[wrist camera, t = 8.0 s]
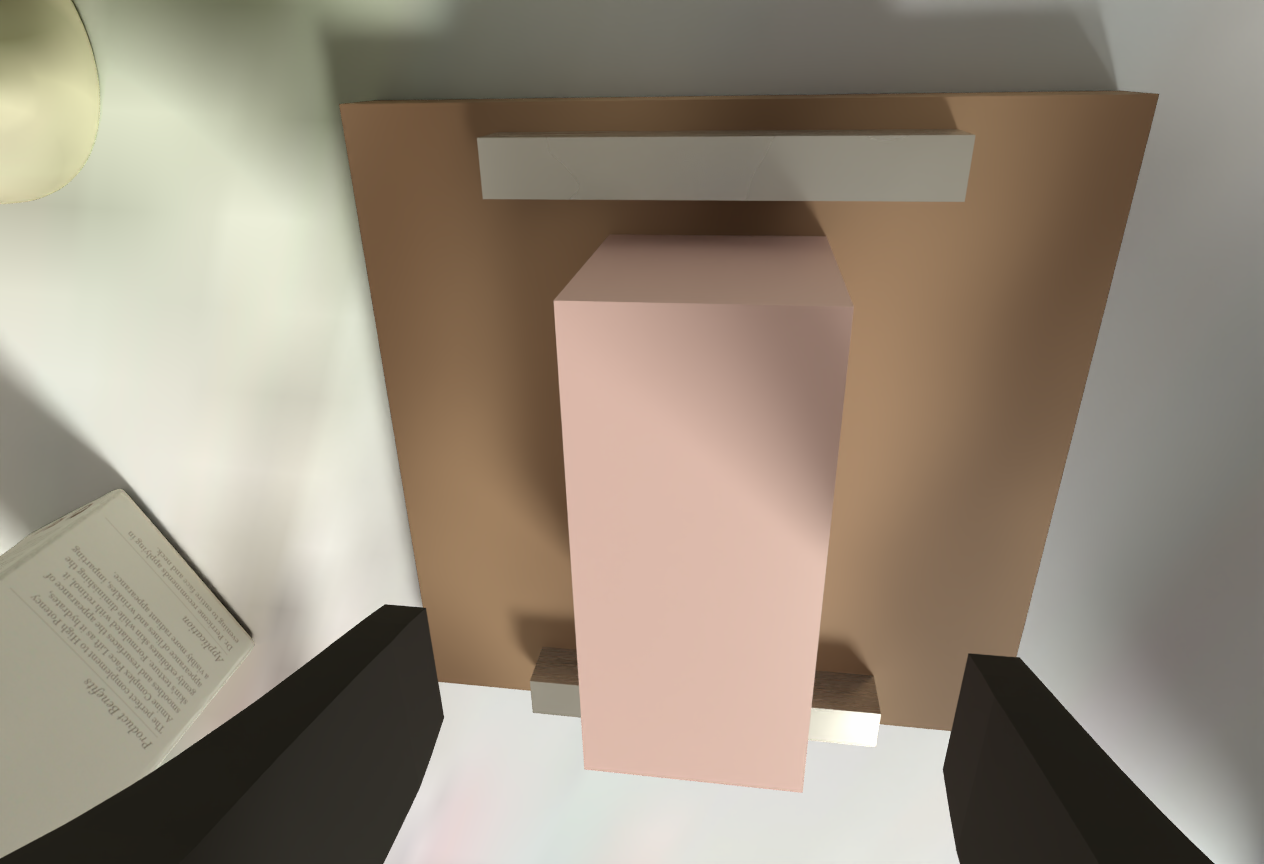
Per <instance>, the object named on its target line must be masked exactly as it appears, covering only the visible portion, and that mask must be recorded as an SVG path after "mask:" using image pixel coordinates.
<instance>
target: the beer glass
mask: <svg viewBox="0 0 1264 864" xmlns="http://www.w3.org/2000/svg"><path fill="white" fill-rule="evenodd" d="M99 118H100V89H99V80H98V74H97V69H96V64H95V59H94V56H93V52H92V49H91V45H90V42H89V39H88V36H87V34H86V31H85V29H84V26H83V24H82V21H81V19H80V17H79V15H78V13H77V10H76V8H75V7H74V5H73V3H72V1H71V0H0V204H13V203H22V202H28V201H33V200H37V199H40V198H43V197H45V196H48V195H50V194H52V193H54V192H56V191H58V190H60V189H61V188H63V187H64V186H66V185H67V184H68V183H69V182H71V181H72V180H73V179H74V178H75V177H76V176H77V174H78V173H79V172H80V171H81V169H82V168H83V166H84V165H85V163H86V162H87V160H88V158H89V156H90V154H91V151H92V149H93V146H94V143H95V140H96V136H97V132H98V126H99Z"/></svg>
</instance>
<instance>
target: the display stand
mask: <svg viewBox="0 0 1264 864" xmlns="http://www.w3.org/2000/svg"><path fill="white" fill-rule="evenodd" d="M1158 97H1159V94H1153V93H1141V92H1129V91H1059V92H982V93H905V94H828V95H750V96H673V97H596V98H519V99H442V100H374V101H364V102H355V103H345V104H339V106H340V112H341V118H342V124H343V130H344V136H345V142H346V148H347V154H348V160H349V166H350V172H351V178H352V184H353V190H354V196H355V202H356V208H357V214H358V220H359V226H360V232H361V238H362V244H363V250H364V256H365V262H366V268H367V274H368V280H369V286H370V292H371V298H372V304H373V310H374V316H375V322H376V328H377V334H378V340H379V346H380V352H381V358H382V364H383V370H384V376H385V382H386V388H387V394H388V400H389V406H390V412H391V418H392V424H393V430H394V436H395V442H396V448H397V454H398V460H399V466H400V472H401V478H402V484H403V490H404V496H405V502H406V508H407V514H408V520H409V526H410V532H411V538H412V544H413V550H414V556H415V562H416V568H417V574H418V580H419V586H420V592H421V598H422V604H423V608H426V611H427V617H428V623H429V629H430V635H431V641H432V648H433V654H434V660H435V666H436V672H437V678H438V682H447V683H457V684H467V685H478V686H488V687H499V688H509V689H519V690H530V691H531V698H532V708H533V713H541V714H551V715H561V716H571V717H581V708H580V693H579V678H578V663H577V648H576V633H575V618H574V603H573V587H572V572H571V557H570V542H569V527H568V512H567V497H566V482H565V467H564V451H563V436H562V421H561V406H560V391H559V376H558V361H557V346H556V331H555V316H554V299H555V298H556V297H557V296H558V295H559V294H560V292H561V291H562V290H563V289H564V288H565V286H566V285H567V284H568V283H569V282H570V281H571V279H572V278H573V277H574V276H575V275H576V274H577V272H578V271H579V270H580V269H581V268H582V266H583V265H584V264H585V263H586V262H587V261H588V259H589V258H590V257H591V256H592V255H593V253H594V252H595V251H596V250H597V249H598V248H599V246H600V245H601V244H602V243H603V242H604V241H605V239H606V238H607V237H608V236H609V235H728V236H826V237H827V239H828V242H829V244H830V247H831V249H832V252H833V255H834V257H835V260H836V262H837V265H838V267H839V270H840V273H841V275H842V278H843V280H844V283H845V285H846V288H847V291H848V293H849V296H850V298H851V301H852V303H853V306H854V310H853V319H852V329H851V338H850V348H849V357H848V367H847V376H846V385H845V395H844V404H843V414H842V423H841V433H840V442H839V452H838V461H837V470H836V480H835V489H834V499H833V508H832V518H831V527H830V537H829V546H828V556H827V565H826V574H825V584H824V593H823V603H822V612H821V622H820V631H819V641H818V650H817V659H816V669H815V678H814V688H813V697H812V707H811V716H810V726H809V735H808V740H811V741H821V742H831V743H841V744H851V745H861V746H871V747H876V741H877V735H878V729H879V724H884V725H894V726H904V727H915V728H925V729H936V730H946V731H951V730H952V726H953V721H954V716H955V712H956V707H957V703H958V698H959V694H960V689H961V684H962V680H963V675H964V671H965V666H966V661H967V657H968V653H972V654H984V655H995V656H1007V657H1016V656H1017V652H1018V648H1019V644H1020V640H1021V636H1022V632H1023V629H1024V625H1025V621H1026V617H1027V613H1028V609H1029V605H1030V601H1031V597H1032V593H1033V589H1034V585H1035V581H1036V577H1037V573H1038V569H1039V566H1040V562H1041V558H1042V554H1043V550H1044V546H1045V542H1046V538H1047V534H1048V530H1049V526H1050V522H1051V518H1052V514H1053V510H1054V506H1055V503H1056V499H1057V495H1058V491H1059V487H1060V483H1061V479H1062V475H1063V471H1064V467H1065V463H1066V459H1067V455H1068V451H1069V447H1070V443H1071V440H1072V436H1073V432H1074V428H1075V424H1076V420H1077V416H1078V412H1079V408H1080V404H1081V400H1082V396H1083V392H1084V388H1085V384H1086V380H1087V377H1088V373H1089V369H1090V365H1091V361H1092V357H1093V353H1094V349H1095V345H1096V341H1097V337H1098V333H1099V329H1100V325H1101V321H1102V317H1103V314H1104V310H1105V306H1106V302H1107V298H1108V294H1109V290H1110V286H1111V282H1112V278H1113V274H1114V270H1115V266H1116V262H1117V258H1118V254H1119V251H1120V247H1121V243H1122V239H1123V235H1124V231H1125V227H1126V223H1127V219H1128V215H1129V211H1130V207H1131V203H1132V199H1133V195H1134V191H1135V188H1136V184H1137V180H1138V176H1139V172H1140V168H1141V164H1142V160H1143V156H1144V152H1145V148H1146V144H1147V140H1148V136H1149V132H1150V128H1151V124H1152V121H1153V117H1154V113H1155V109H1156V105H1157V101H1158Z"/></svg>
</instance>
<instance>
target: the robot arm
mask: <svg viewBox="0 0 1264 864" xmlns="http://www.w3.org/2000/svg"><path fill="white" fill-rule="evenodd" d="M443 719H444V715H443V709H442V702H441V696H440V690H439V684H438V678H437V672H436V666H435V660H434V654H433V648H432V641H431V635H430V629H429V623H428V617H427V611H426V608H421V607H409V606H397V605H384V606H382V607H381V608H379V609H378V610H376V611H375V612H374V613H372V614H371V615H369V616H368V617H367V618H365V619H364V620H363V621H361V622H360V623H359V624H357V625H356V626H355V627H353V628H352V629H351V630H349V631H348V632H347V633H346V634H344V635H343V636H342V637H340V638H339V639H338V640H336V641H335V642H334V643H332V644H331V645H330V646H329V647H327V648H326V649H325V650H323V651H322V652H321V653H319V654H318V655H317V656H316V657H314V658H313V659H312V660H310V661H309V662H308V663H306V664H305V665H304V666H302V667H301V668H300V669H298V670H297V671H296V672H294V673H293V674H292V675H290V676H289V677H288V678H286V679H285V680H284V681H282V682H281V683H280V684H278V685H277V686H276V687H274V688H273V689H272V690H270V691H269V692H268V693H266V694H265V695H264V696H262V697H261V698H260V699H258V700H257V701H255V702H254V703H253V704H251V705H250V706H248V707H247V708H246V709H244V710H243V711H241V712H240V713H238V714H237V715H235V716H234V717H233V718H231V719H230V720H228V721H227V722H225V723H224V724H222V725H221V726H219V727H218V728H217V729H215V730H214V731H212V732H211V733H209V734H208V735H206V736H205V737H204V738H202V739H201V740H199V741H198V742H196V743H195V744H193V745H192V746H191V747H189V748H188V749H186V750H185V751H183V752H182V753H180V754H179V755H178V756H176V757H174V758H173V759H171V760H170V761H168V762H167V763H165V764H164V765H162V766H161V767H159V768H158V769H156V770H154V771H153V772H151V773H150V774H148V775H146V776H145V777H143V778H142V779H140V780H138V781H137V782H135V783H134V784H132V785H130V786H129V787H127V788H125V789H124V790H122V791H120V792H119V793H117V794H115V795H114V796H112V797H110V798H109V799H107V800H105V801H103V802H102V803H100V804H98V805H97V806H95V807H93V808H92V809H90V810H88V811H87V812H85V813H83V814H82V815H80V816H78V817H76V818H75V819H73V820H71V821H69V822H67V823H66V824H64V825H62V826H60V827H58V828H57V829H55V830H53V831H51V832H49V833H47V834H45V835H43V836H42V837H40V838H38V839H36V840H34V841H32V842H30V843H28V844H26V845H25V846H23V847H21V848H19V849H17V850H15V851H13V852H11V853H9V854H8V855H6V856H4V857H2V858H0V864H383V863H384V861H385V859H386V857H387V855H388V853H389V851H390V849H391V847H392V845H393V843H394V841H395V839H396V837H397V835H398V833H399V830H400V828H401V826H402V824H403V822H404V820H405V818H406V816H407V814H408V812H409V810H410V808H411V806H412V803H413V801H414V799H415V797H416V795H417V793H418V791H419V788H420V786H421V783H422V780H423V778H424V775H425V772H426V769H427V766H428V764H429V761H430V758H431V755H432V752H433V749H434V746H435V743H436V740H437V737H438V734H439V731H440V728H441V725H442V722H443ZM943 773H944V780H945V786H946V792H947V799H948V805H949V811H950V817H951V823H952V828H953V834H954V839H955V845H956V851H957V854H958V858H959V862H960V864H1214V863H1213V862H1212V861H1211V860H1210V859H1209V858H1208V857H1207V856H1206V855H1205V854H1204V853H1203V852H1202V851H1201V850H1200V849H1199V848H1198V847H1196V846H1195V845H1194V844H1193V843H1192V842H1191V841H1190V840H1189V839H1188V838H1187V837H1186V836H1185V835H1184V834H1183V833H1182V832H1181V831H1180V830H1179V829H1178V828H1177V827H1176V826H1175V825H1174V824H1173V823H1172V822H1171V821H1170V820H1169V819H1168V818H1167V817H1166V816H1165V815H1164V814H1163V813H1162V812H1161V811H1160V810H1159V809H1158V808H1157V807H1156V806H1155V804H1154V803H1153V802H1152V801H1151V800H1150V799H1149V798H1148V797H1147V796H1146V795H1145V794H1144V793H1143V792H1142V791H1141V790H1140V789H1139V788H1138V787H1137V786H1136V785H1135V784H1134V783H1133V781H1132V780H1131V779H1130V778H1129V777H1128V776H1127V775H1126V774H1125V773H1124V772H1123V771H1122V770H1121V769H1120V768H1119V767H1118V766H1117V765H1116V764H1115V762H1114V761H1113V760H1112V759H1111V758H1110V757H1109V756H1108V755H1107V754H1106V753H1105V752H1104V751H1103V749H1102V748H1101V747H1100V746H1099V745H1098V744H1097V743H1096V742H1095V741H1094V740H1093V738H1092V737H1091V736H1090V735H1089V734H1088V733H1087V732H1086V731H1085V730H1084V729H1083V727H1082V726H1081V725H1080V724H1079V723H1078V722H1077V721H1076V720H1075V719H1074V717H1073V716H1072V715H1071V714H1070V713H1069V712H1068V711H1067V710H1066V709H1065V707H1064V706H1063V705H1062V704H1061V703H1060V702H1059V701H1058V700H1057V699H1056V697H1055V696H1054V695H1053V694H1052V693H1051V692H1050V691H1049V690H1048V688H1047V687H1046V686H1045V685H1044V684H1043V683H1042V682H1041V681H1040V680H1039V678H1038V677H1037V676H1036V675H1035V674H1034V673H1033V672H1032V671H1031V670H1030V668H1029V667H1028V666H1027V665H1026V664H1025V663H1024V662H1023V661H1022V660H1021V659H1020V658H1019V657H1007V656H995V655H984V654H972V653H968V657H967V661H966V666H965V671H964V675H963V680H962V684H961V689H960V694H959V698H958V703H957V707H956V712H955V716H954V721H953V726H952V730H951V735H950V739H949V744H948V748H947V753H946V758H945V762H944V767H943Z"/></svg>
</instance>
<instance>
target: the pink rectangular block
mask: <svg viewBox="0 0 1264 864" xmlns="http://www.w3.org/2000/svg"><path fill="white" fill-rule="evenodd" d="M853 310H854V306H853V303H852V301H851V298H850V296H849V293H848V291H847V288H846V285H845V283H844V280H843V278H842V275H841V273H840V270H839V267H838V265H837V262H836V260H835V257H834V255H833V252H832V249H831V247H830V244H829V242H828V239H827V237H826V236H728V235H609V236H608V237H607V238H606V239H605V241H604V242H603V243H602V244H601V245H600V246H599V248H598V249H597V250H596V251H595V252H594V253H593V255H592V256H591V257H590V258H589V259H588V261H587V262H586V263H585V264H584V265H583V266H582V268H581V269H580V270H579V271H578V272H577V274H576V275H575V276H574V277H573V278H572V279H571V281H570V282H569V283H568V284H567V285H566V286H565V288H564V289H563V290H562V291H561V292H560V294H559V295H558V296H557V297H556V298H555V299H554V316H555V331H556V346H557V361H558V376H559V391H560V406H561V421H562V436H563V451H564V467H565V482H566V497H567V512H568V527H569V542H570V557H571V572H572V587H573V603H574V618H575V633H576V648H577V663H578V678H579V693H580V708H581V723H582V739H583V754H584V769H586V770H595V771H605V772H614V773H623V774H633V775H642V776H651V777H661V778H670V779H679V780H689V781H698V782H707V783H717V784H726V785H735V786H745V787H754V788H764V789H773V790H782V791H792V792H801V793H802V792H803V782H804V773H805V763H806V754H807V744H808V735H809V726H810V716H811V707H812V697H813V688H814V678H815V669H816V659H817V650H818V641H819V631H820V622H821V612H822V603H823V593H824V584H825V574H826V565H827V556H828V546H829V537H830V527H831V518H832V508H833V499H834V489H835V480H836V470H837V461H838V452H839V442H840V433H841V423H842V414H843V404H844V395H845V385H846V376H847V367H848V357H849V348H850V338H851V329H852V319H853Z"/></svg>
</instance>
